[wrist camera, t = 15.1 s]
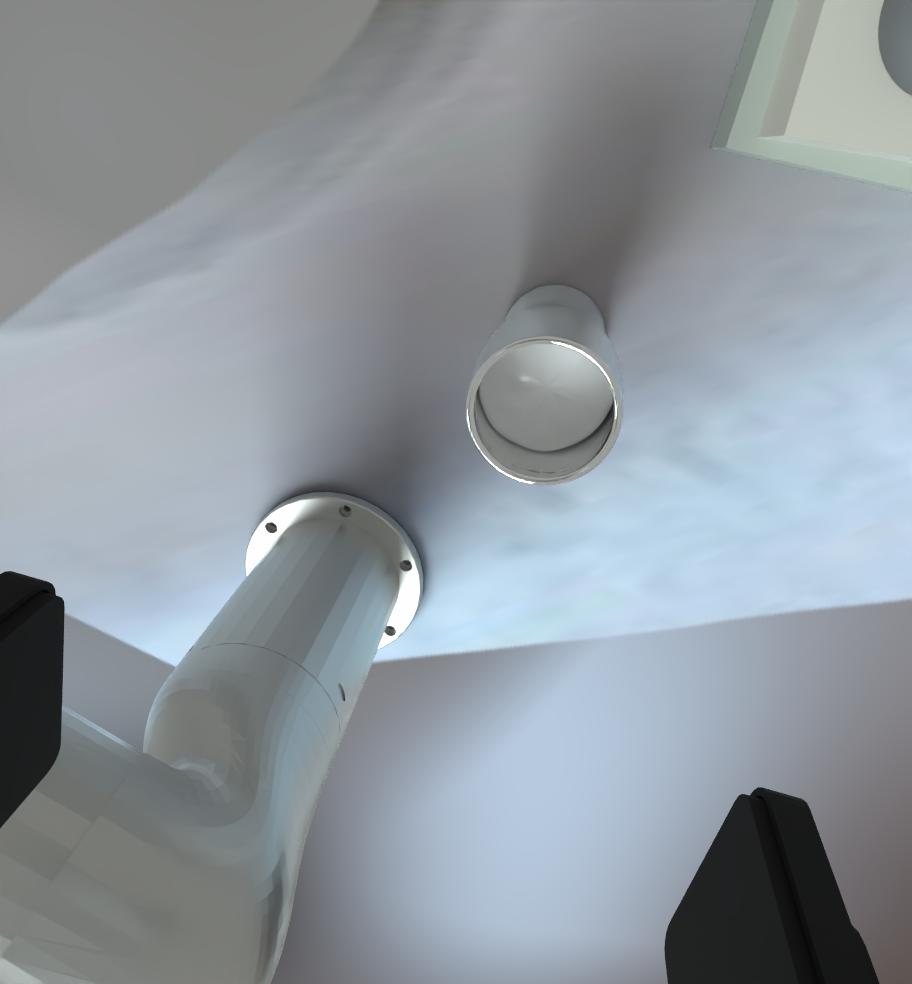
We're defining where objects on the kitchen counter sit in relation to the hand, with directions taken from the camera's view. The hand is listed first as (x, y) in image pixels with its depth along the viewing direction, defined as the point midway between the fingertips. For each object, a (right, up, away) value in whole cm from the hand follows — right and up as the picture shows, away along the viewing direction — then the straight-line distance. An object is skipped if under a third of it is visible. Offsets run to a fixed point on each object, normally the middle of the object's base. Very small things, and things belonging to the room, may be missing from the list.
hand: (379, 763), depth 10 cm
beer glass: (+7, +13, +36) cm, 38 cm away
